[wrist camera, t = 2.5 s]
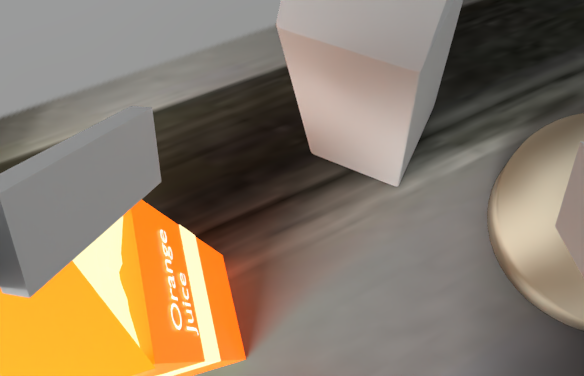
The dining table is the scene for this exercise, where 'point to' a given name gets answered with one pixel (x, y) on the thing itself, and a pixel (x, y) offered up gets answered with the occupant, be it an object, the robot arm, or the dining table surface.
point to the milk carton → (366, 76)
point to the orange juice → (126, 308)
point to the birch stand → (539, 221)
